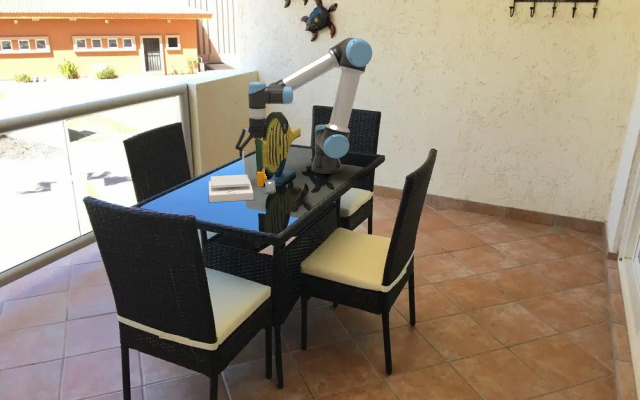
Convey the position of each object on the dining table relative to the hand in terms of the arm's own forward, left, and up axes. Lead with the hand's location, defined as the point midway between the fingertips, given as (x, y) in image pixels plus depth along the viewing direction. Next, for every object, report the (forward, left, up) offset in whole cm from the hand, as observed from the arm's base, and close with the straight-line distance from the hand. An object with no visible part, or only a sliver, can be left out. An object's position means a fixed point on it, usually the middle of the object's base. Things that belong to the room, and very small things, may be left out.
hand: (258, 163), depth 226 cm
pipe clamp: (-1, 0, -9) cm, 9 cm away
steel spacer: (-3, +16, -9) cm, 19 cm away
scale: (+14, +14, -9) cm, 21 cm away
